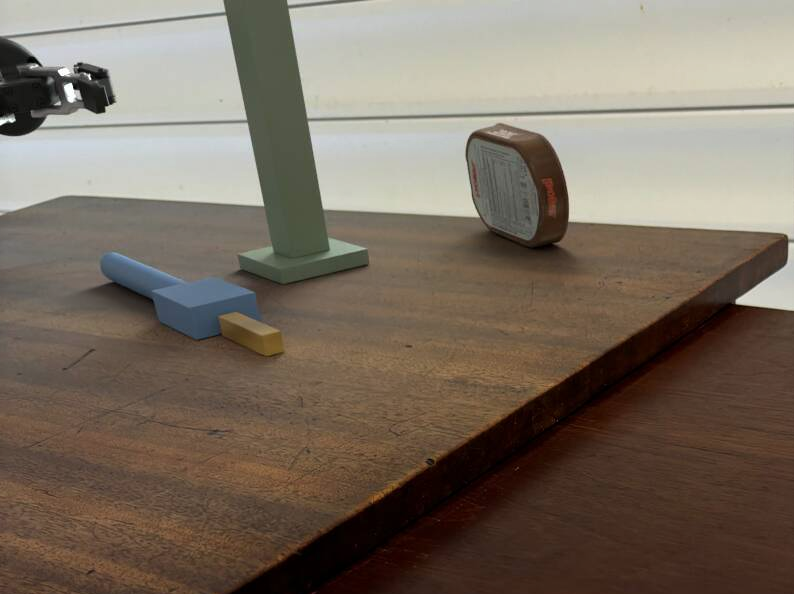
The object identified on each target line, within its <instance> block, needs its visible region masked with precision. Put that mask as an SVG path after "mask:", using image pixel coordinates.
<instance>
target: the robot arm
mask: <svg viewBox="0 0 794 594" xmlns="http://www.w3.org/2000/svg"><path fill="white" fill-rule="evenodd" d="M72 69H73V73H71V72H70V71H69V69H68V68H67V67H65V66H43V64H42V63H41V62H40V60H39V59H38V57H36V56H35V54H34V53H32V52H31V51H30V50H29V49H27V48H26V47H25V46H24V45H22V44H19V43H18V42H17V41H14V40H11V39H9V38H6V37H4V36H1V35H0V135H1V136H4V137H5V136H6V137H23V136H27V135H29V134H31V133H33V132H35V131H36V130H38V129H39V128H40V127H41V126H42V125H43V124H44V123H45V121H46V120H47V118H48V116H50V115H51V116H52V115H53V116H69V115H72V114H74V113H77V112H78V111H79V109H81V110H82V109H83V110H87V111H89V112H91V113H93V114H95V115H101V114H105V113H106V112H107V109H106V108H107V107H110V106H113V105H114V104H116V103H117V97H116V94H115V89H114V86H113V82H112V78H111V74H110V70H109V69H107V68H105V67H102V66H101V67H100V66H97V65H93V64H91V63H87V62H83V61H78V62H76V64H73V67H72ZM75 91H79V96H80V99H79V98H78V97H77V96H76V93H75ZM58 103H60V104H58Z"/></svg>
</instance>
